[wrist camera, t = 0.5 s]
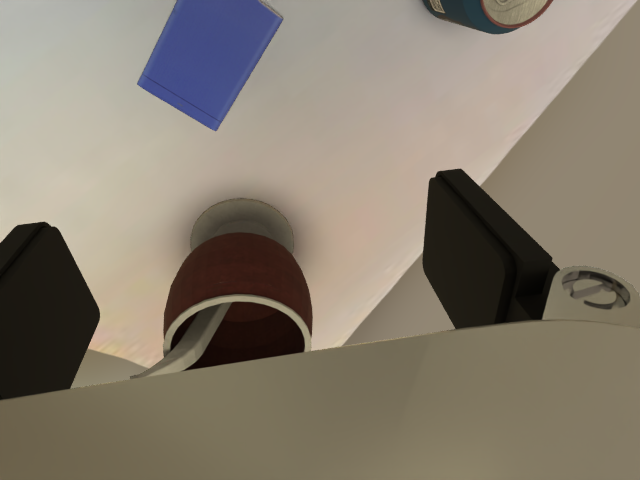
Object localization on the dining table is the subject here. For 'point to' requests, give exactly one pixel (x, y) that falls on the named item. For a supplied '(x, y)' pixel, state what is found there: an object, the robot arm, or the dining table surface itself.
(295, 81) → the dining table surface
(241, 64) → the hard drive
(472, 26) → the soda can
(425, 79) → the dining table surface
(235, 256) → the mate gourd
